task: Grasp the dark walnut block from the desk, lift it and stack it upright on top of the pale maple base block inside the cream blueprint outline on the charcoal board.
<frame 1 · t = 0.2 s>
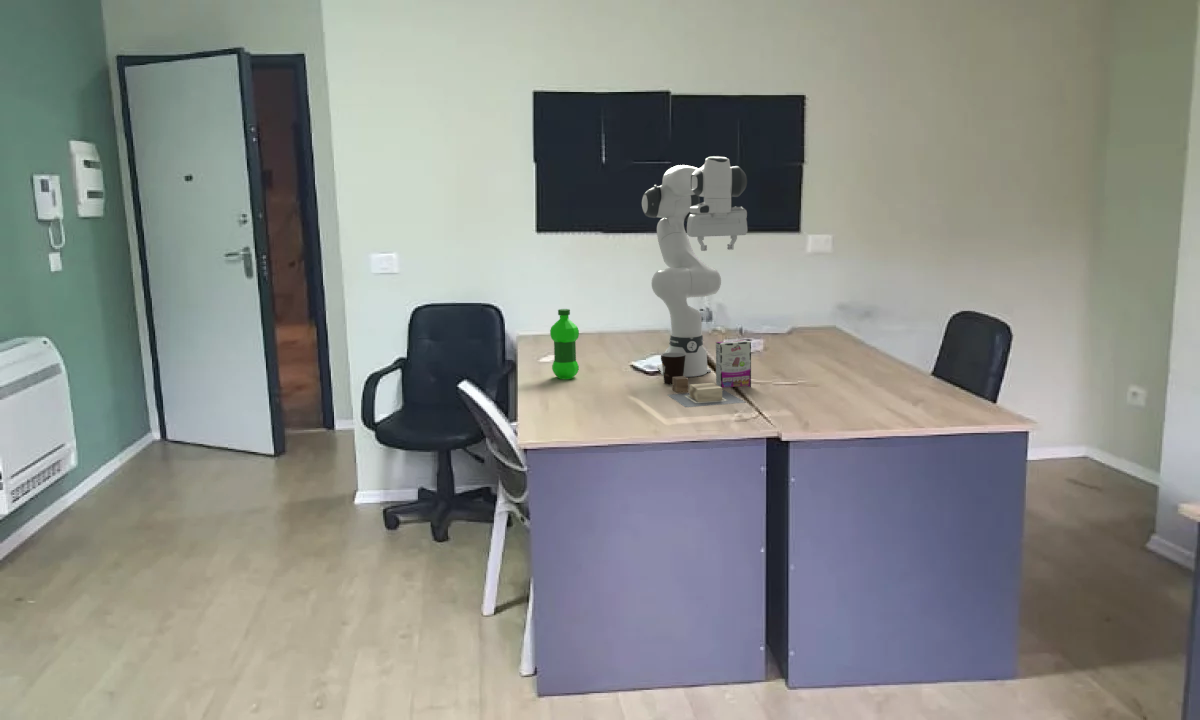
hand: (717, 250, 306), 47 cm above the table, fingers open, 8 cm apart
maple base block: (705, 398, 298), resting on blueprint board
plastic bottle: (565, 378, 340), on the table
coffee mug: (673, 382, 331), on the table
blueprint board: (705, 403, 298), on the table
candy bar box: (733, 389, 317), on the table
walnut block: (680, 395, 310), on the table
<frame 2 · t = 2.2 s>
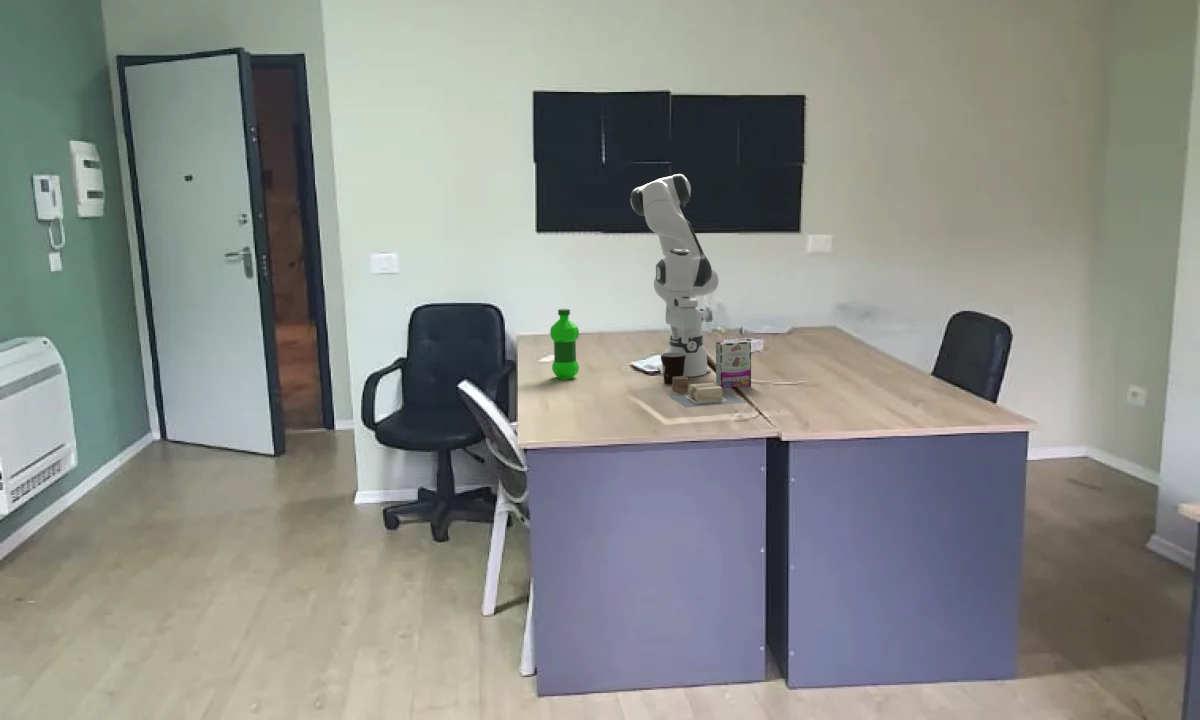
hand: (680, 341, 306), 18 cm above the table, fingers open, 8 cm apart
nothing on the table moved.
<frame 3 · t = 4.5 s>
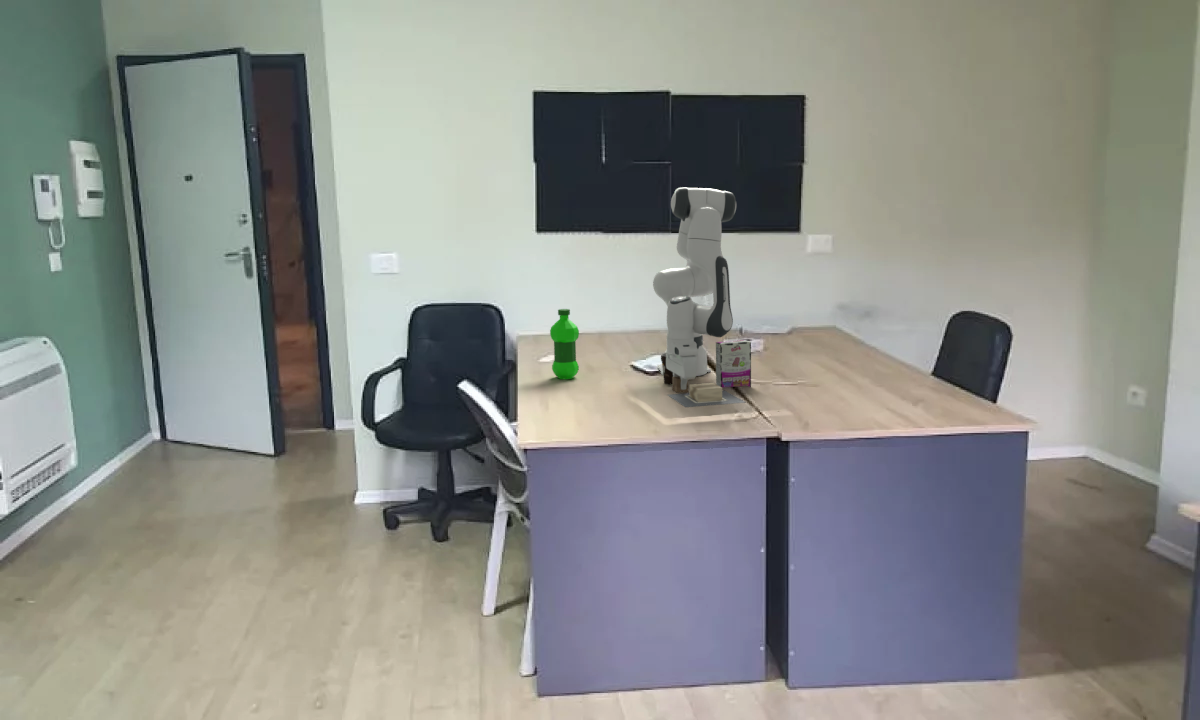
hand: (680, 387, 309), 3 cm above the table, fingers closed on walnut block, 4 cm apart
walnut block: (680, 395, 310), on the table, touching gripper
everything else where it was.
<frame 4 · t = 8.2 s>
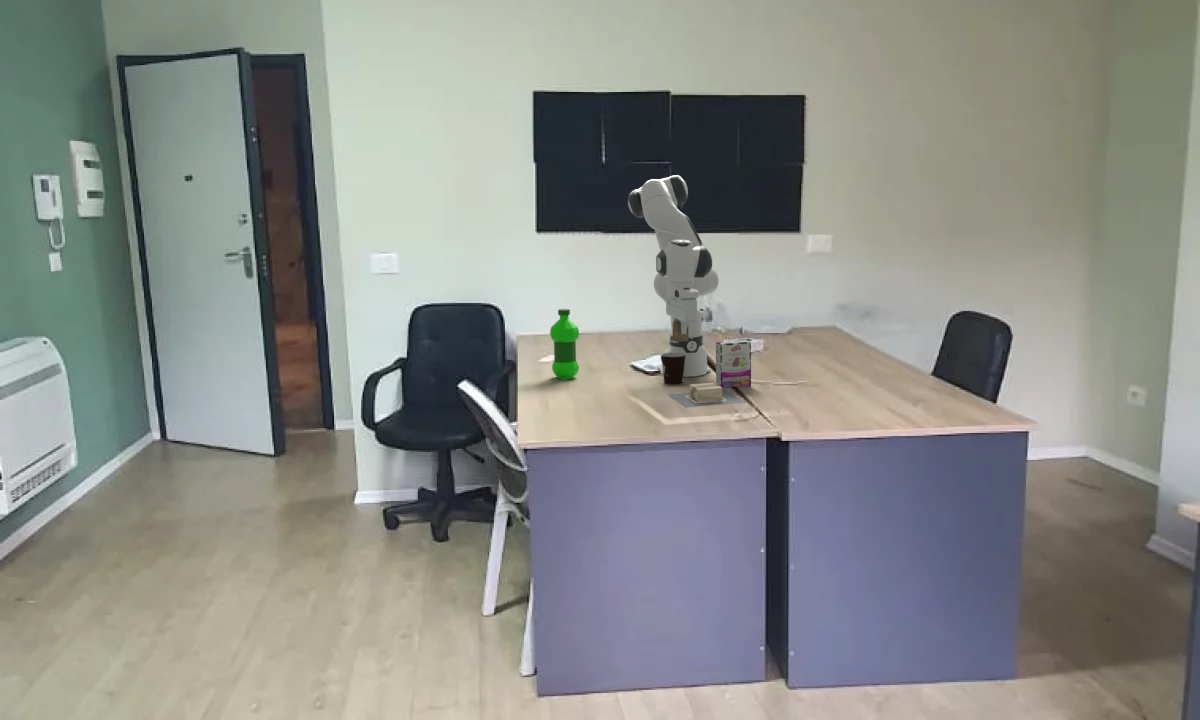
hand: (680, 332, 305), 21 cm above the table, fingers closed on walnut block, 4 cm apart
walnut block: (680, 340, 306), point 18 cm above the table, touching gripper
everything else where it was.
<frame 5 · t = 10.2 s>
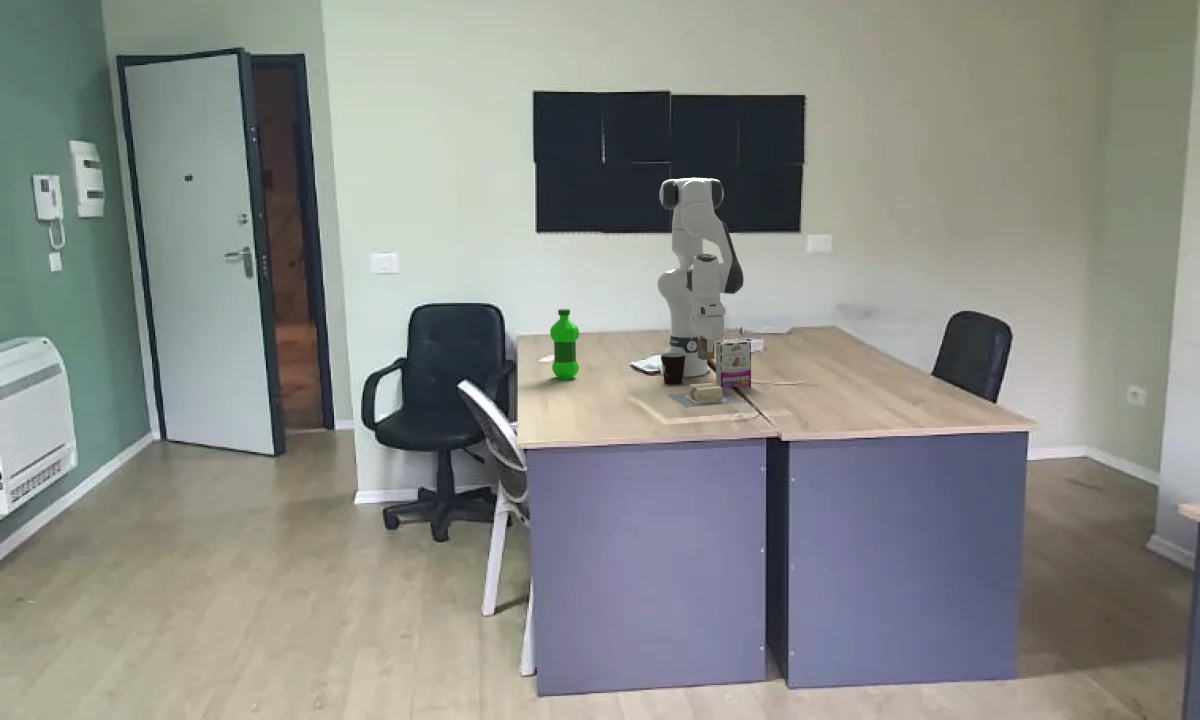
hand: (706, 350, 295), 17 cm above the table, fingers closed on walnut block, 4 cm apart
walnut block: (706, 358, 295), point 14 cm above the table, touching gripper
everything else where it was.
when the fingers open (10 cm above the table, at t = 11.8 s): walnut block drops 1 cm, resting on maple base block.
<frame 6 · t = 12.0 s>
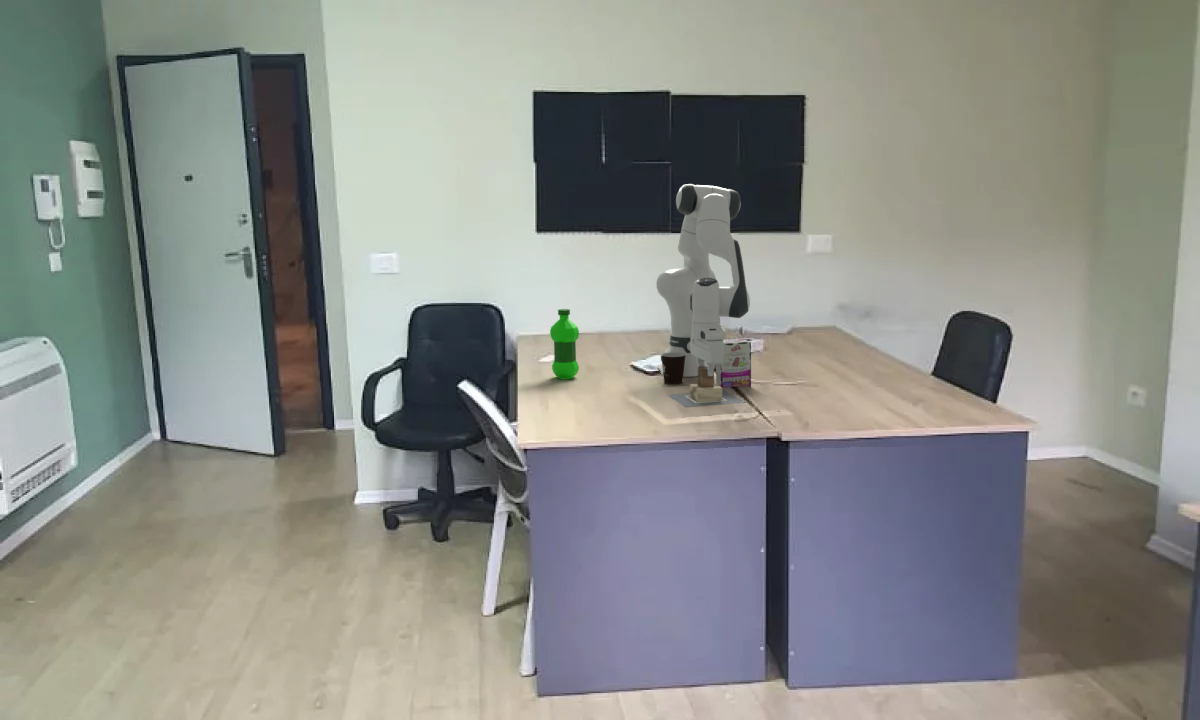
hand: (705, 373, 297), 10 cm above the table, fingers open, 6 cm apart
walnut block: (705, 386, 297), point 5 cm above the table, touching maple base block
everything else where it was.
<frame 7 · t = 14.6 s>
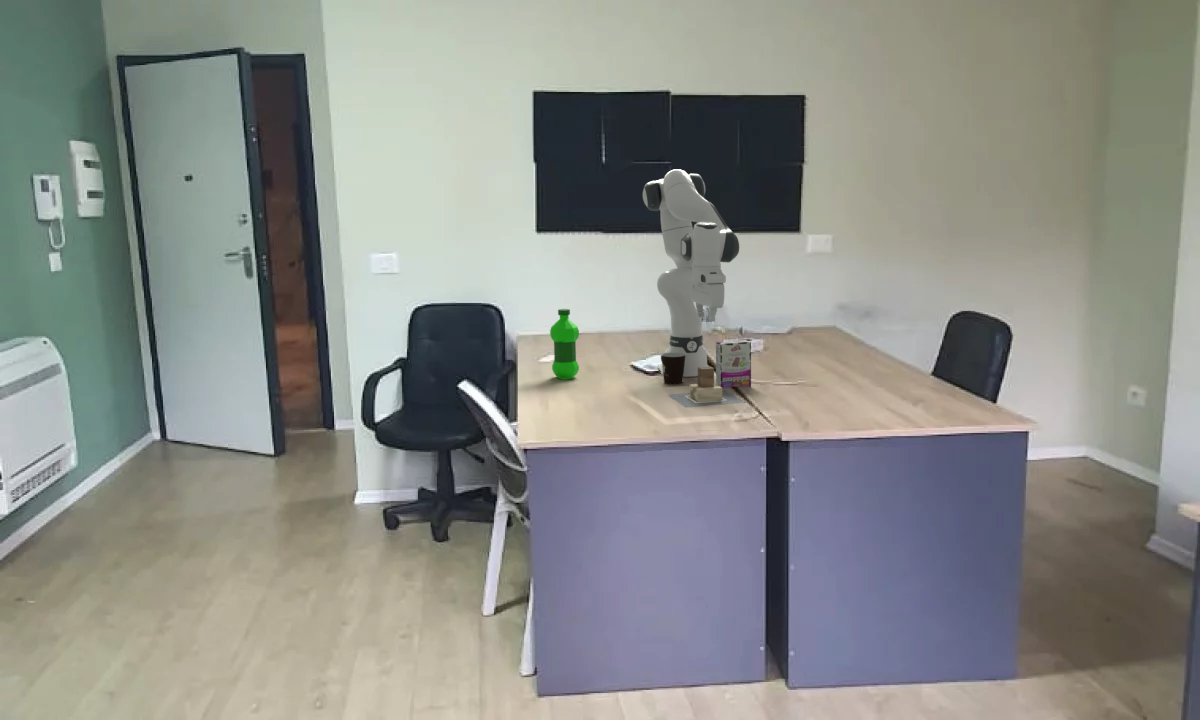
hand: (706, 319, 293), 27 cm above the table, fingers open, 8 cm apart
nothing on the table moved.
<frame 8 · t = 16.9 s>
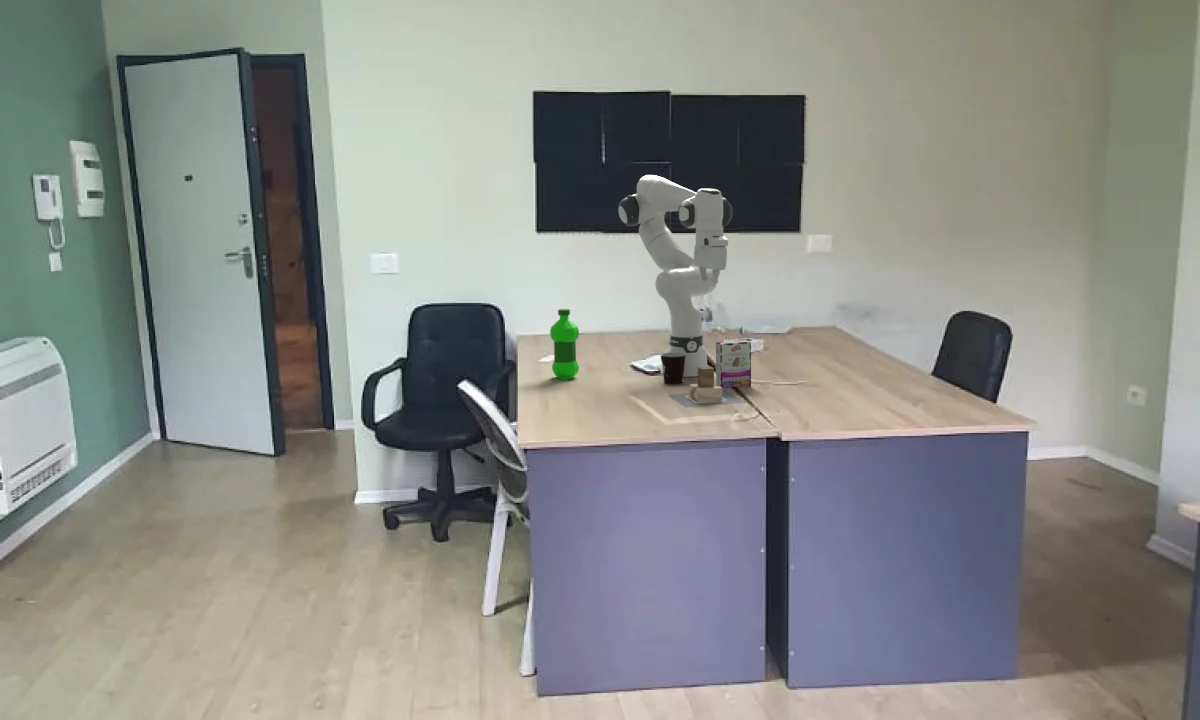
hand: (709, 282, 305), 37 cm above the table, fingers open, 8 cm apart
nothing on the table moved.
at the end: walnut block 0.1 cm from the target spot, point 5.5 cm above the table; walnut block tilted 0°; the gripper is holding nothing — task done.
